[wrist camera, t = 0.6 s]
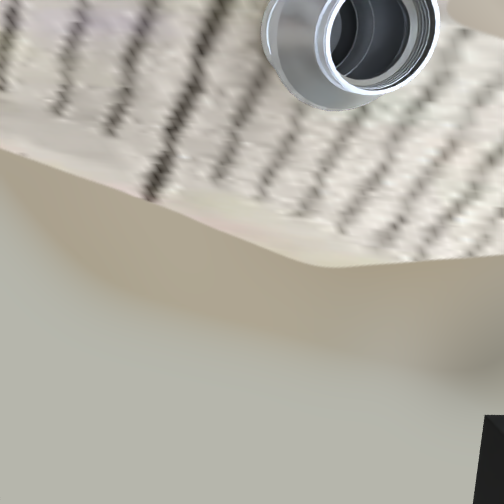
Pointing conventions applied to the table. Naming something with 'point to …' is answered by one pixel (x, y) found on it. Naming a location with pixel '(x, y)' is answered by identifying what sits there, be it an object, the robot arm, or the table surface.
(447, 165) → the table surface
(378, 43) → the silver metal bottle
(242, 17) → the table surface
